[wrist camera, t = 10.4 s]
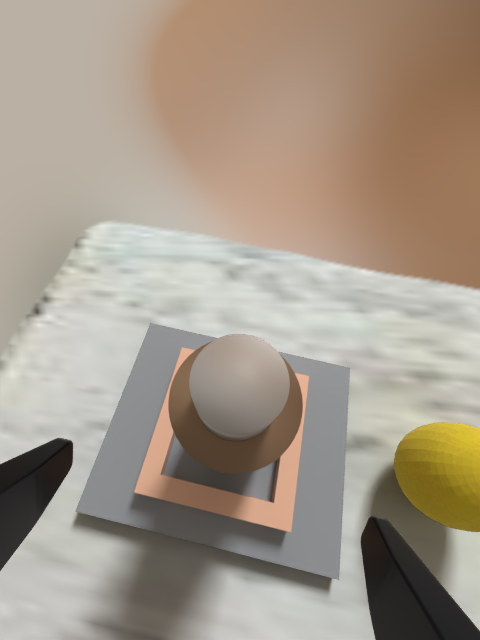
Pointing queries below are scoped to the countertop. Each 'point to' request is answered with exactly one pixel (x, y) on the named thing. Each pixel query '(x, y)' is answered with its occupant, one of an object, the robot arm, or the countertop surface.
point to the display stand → (221, 488)
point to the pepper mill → (235, 404)
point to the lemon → (442, 473)
